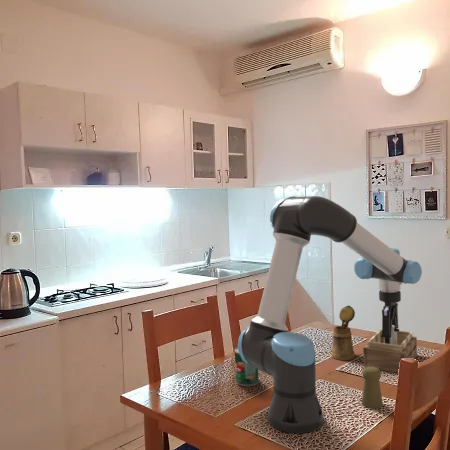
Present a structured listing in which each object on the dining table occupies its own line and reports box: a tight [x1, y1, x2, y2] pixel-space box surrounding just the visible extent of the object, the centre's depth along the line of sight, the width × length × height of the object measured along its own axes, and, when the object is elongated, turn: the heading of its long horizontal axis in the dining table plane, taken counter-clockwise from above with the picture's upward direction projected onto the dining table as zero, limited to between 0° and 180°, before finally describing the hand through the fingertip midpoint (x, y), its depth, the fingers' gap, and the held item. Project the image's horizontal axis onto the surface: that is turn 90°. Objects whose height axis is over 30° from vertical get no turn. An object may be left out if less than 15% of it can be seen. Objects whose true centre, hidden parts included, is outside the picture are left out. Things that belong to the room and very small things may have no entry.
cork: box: [361, 367, 384, 410], centre depth 137 cm, size 6×6×11 cm
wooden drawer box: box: [362, 335, 418, 373], centre depth 172 cm, size 21×14×7 cm, turn 147°
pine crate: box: [367, 328, 413, 352], centre depth 172 cm, size 18×12×8 cm, turn 147°
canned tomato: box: [234, 346, 260, 387], centre depth 158 cm, size 8×8×11 cm
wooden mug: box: [330, 305, 356, 361], centre depth 180 cm, size 9×14×18 cm, turn 147°
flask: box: [391, 325, 398, 345], centre depth 171 cm, size 7×7×10 cm
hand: (390, 351), depth 172 cm, fingers closed on flask, 7 cm apart
